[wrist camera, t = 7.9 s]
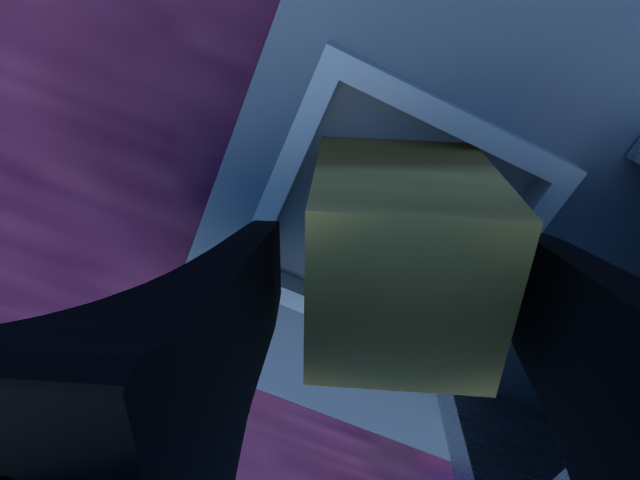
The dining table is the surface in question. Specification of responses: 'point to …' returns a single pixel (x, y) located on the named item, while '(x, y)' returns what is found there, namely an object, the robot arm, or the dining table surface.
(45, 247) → the dining table surface
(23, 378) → the robot arm
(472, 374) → the block
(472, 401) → the housing cover
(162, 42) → the dining table surface
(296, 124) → the board
